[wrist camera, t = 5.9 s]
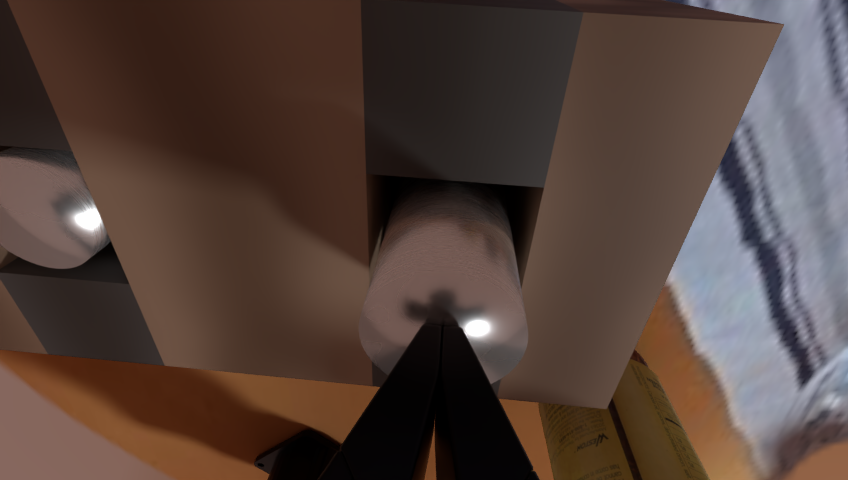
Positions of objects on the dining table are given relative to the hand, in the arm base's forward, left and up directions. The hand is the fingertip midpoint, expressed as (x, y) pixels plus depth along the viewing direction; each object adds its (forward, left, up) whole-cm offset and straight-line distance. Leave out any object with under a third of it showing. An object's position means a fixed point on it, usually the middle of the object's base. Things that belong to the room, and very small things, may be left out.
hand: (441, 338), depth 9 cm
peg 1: (-8, +9, -10) cm, 16 cm away
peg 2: (0, 0, -7) cm, 7 cm away
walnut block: (-4, +4, -10) cm, 12 cm away
